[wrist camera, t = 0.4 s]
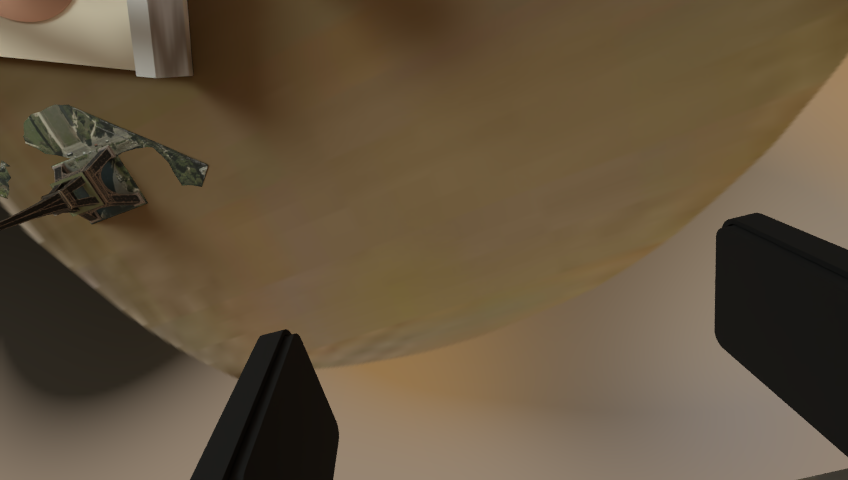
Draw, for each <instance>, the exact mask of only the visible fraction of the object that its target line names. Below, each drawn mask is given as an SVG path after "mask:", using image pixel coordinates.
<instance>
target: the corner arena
mask: <svg viewBox="0 0 848 480" xmlns="http://www.w3.org/2000/svg"><path fill="white" fill-rule="evenodd" d="M0 57H10V58H20V59H29V60H39V61H48V62H58V63H68V64H77V65H87V66H97V67H106V68H116V69H125V70H135V71H136V76H139V77H149V78H168V77H183V76H193V64H192V52H191V40H190V28H189V16H188V4H187V0H0Z"/></svg>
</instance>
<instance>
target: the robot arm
mask: <svg viewBox="0 0 848 480" xmlns="http://www.w3.org/2000/svg"><path fill="white" fill-rule="evenodd" d="M715 335H716V338H717V340H718V342H719V344H720V345H721V346H722V348H724V349H725V350H726V351H727V352H728V353H729V354H731V356H733V357H734V358H735V359H736V360H737V361H739V363H741V364H742V365H743V366H744V367H745V368H746V369H747V370H749V371H750V372H751V373H752V374H753V375H754V376H756V377H757V378H758V379H759V380H760V381H761V382H762V383H764V384H765V385H766V386H767V387H768V388H769V389H771V390H772V391H773V392H774V393H775V394H776V395H777V396H778V397H780V398H781V399H782V400H783V401H784V402H785V403H787V404H788V405H789V406H790V407H791V408H793V410H795V411H796V412H797V413H798V414H799V415H800V416H802V417H803V418H804V419H805V420H806V421H807V422H808V423H809V424H811V425H812V426H813V427H814V428H815V429H817V431H819V432H820V433H821V434H822V435H823V436H824V437H826V438H827V439H828V440H829V441H830V442H831V443H833V445H835V446H836V447H837V448H838V449H839V450H840V451H841V452H843V453H844V454H845V455H846V456H847V457H848V250H847V249H845V248H842V247H840V246H837V245H835V244H833V243H830V242H828V241H825V240H823V239H820V238H818V237H816V236H813V235H811V234H808V233H806V232H804V231H801V230H799V229H796V228H794V227H792V226H789V225H787V224H785V223H782V222H780V221H777V220H775V219H772V218H770V217H768V216H765V215H763V214H760V213H754V214H749V215H745V216H741V217H737V218H733V219H728V220H727V221H725V222H724V224H723V226H722V228H720V229H719V230H718V232H717V235H716V279H715ZM338 441H339V431H338V425H337V423H336V420H335V418H334V415H333V413H332V410H331V408H330V406H329V403H328V401H327V399H326V397H325V394H324V392H323V389H322V387H321V385H320V382H319V380H318V377H317V375H316V373H315V370H314V368H313V366H312V363H311V361H310V359H309V356H308V354H307V352H306V349H305V347H304V345H303V342H302V340H301V338H300V336H299V335H298V334H291V333H290V332H289V330H286V329H285V330H281V331H277V332H273V333H269V334H265V335H262V336H260V337H259V339H258V341H257V343H256V345H255V347H254V349H253V351H252V353H251V355H250V357H249V359H248V361H247V363H246V365H245V367H244V369H243V372H242V374H241V376H240V378H239V380H238V382H237V384H236V386H235V388H234V390H233V392H232V394H231V396H230V398H229V401H228V403H227V405H226V407H225V409H224V411H223V413H222V415H221V417H220V419H219V421H218V423H217V425H216V427H215V429H214V431H213V434H212V436H211V438H210V440H209V442H208V444H207V446H206V448H205V450H204V452H203V454H202V456H201V458H200V460H199V462H198V464H197V467H196V469H195V471H194V473H193V475H192V477H191V479H190V480H333V476H334V468H335V462H336V455H337V448H338ZM798 480H848V469H844V470H839V471H835V472H830V473H825V474H822V475H816V476H812V477H808V478H803V479H798Z"/></svg>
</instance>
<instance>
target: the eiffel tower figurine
mask: <svg viewBox="0 0 848 480" xmlns="http://www.w3.org/2000/svg"><path fill="white" fill-rule="evenodd" d="M23 137H24V139H25V142H26V144H28V145H31V146H33V147H35V148H37V149H39V150H40V151H42V152H44V153H45V154H52V155H58V156H63V157H67V158H70V159H69V160H66V161H64V162H61V163H59V164H56V165H54V166H51V167H52V168H53V170H54V176H55V183H52V184H50V186H51V187H52V191H51V192H50V193H49V194H47V195H45V196H42V197H41V199H42V200H41V201H39V202H38V203H36V204H34V205H33V206H31V207H29V208H27V209H25V210H23V211H21V212H19V213H17V214H15V215H13V216H11V217H9V218H7V219H5V220H3V221H1V222H0V231H1V230H4V229H6V228H9V227H12V226H15V225H18V224H21V223H24V222H26V221H29V220H32V219H35V218H39V217H42V216H45V215H50V214H53V215H55V216H56V215H59V214H61V213H70V214H71V215H72V217H73V216H76V215H80V216H82V217H83V218H85V219H87V220H89V221H90V223H91V224H94V223H97V222H100V221H102V220H105V219H107V218H110V217H113V216H115V215H118V214H121V213H123V212H126V211H129V210H131V209H134V208H137V207H139V206H142V205H144V204H147V203H148V202H147V201H146V199H145V197H144V196H143V194H142V193H141V191H140V190H139V188H138V187H137V185H136V183H135V182H134V180H133V179H132V177H131V176H130V174H129V173H128V171H127V169H126V168H125V166H124V165H123V163H122V162H121V160H120V159H119V157H118V155H119V154H121V153H122V152H125V151H129V150H132V149H135V148H144V147H153V148H154V149H155V150H156V151H157V152H158V153H160V154H161V155H162V156H163V157H164V158H165V159H166V160H167V161H168V162H169V164H170V166H171V168H172V170H173V172H174V174H175V175H176V177H177V178H178V180H179V181H180V183H181V184H182V185H194V186H200V187H202V184H203V181H204V177H205V174H206V170H207V167H208V165H207V164H205V163H202V162H200V161H197V160H195V159H192V158H190V157H188V156H185V155H183V154H181V153H179V152H177V151H174V150H172V149H170V148H168V147H165V146H163V145H161V144H159V143H156V142H154V141H152V140H149V139H147V138H144V137H142V136H139V135H137V134H134V133H132V132H130V131H127V130H125V129H123V128H120V127H118V126H115V125H113V124H111V123H108V122H106V121H104V120H102V119H99V118H97V117H95V116H92V115H90V114H88V113H85V112H83V111H81V110H79V109H76V108H74V107H72V106H70V105H53V106H50V107H48V108H46V109H44V110H43V111H41V112H38V113H34V114H31V115H30V116H29V117H28V119H27V120H26V121H25V122H24V136H23ZM5 166H9V165H8V164H6V163H5V162H3V161H2V160H1V166H0V196H1V197H4V198H7V199H8V193H9V185H8V181H9V180H10V178H11V177H10V175H9V173H8V171H7V170H6V168H5Z"/></svg>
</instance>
